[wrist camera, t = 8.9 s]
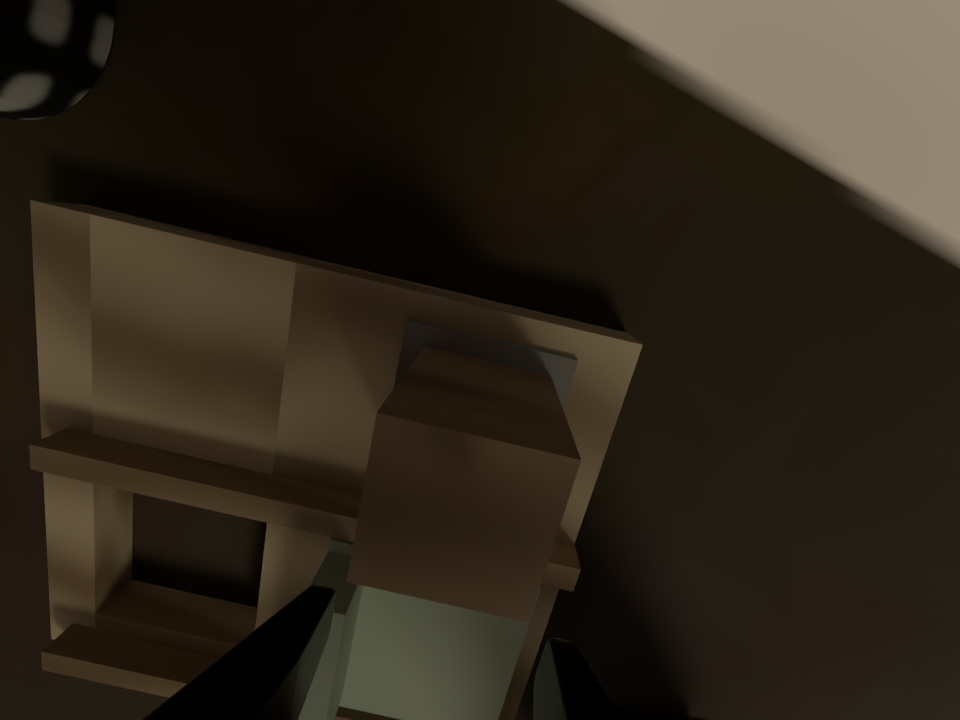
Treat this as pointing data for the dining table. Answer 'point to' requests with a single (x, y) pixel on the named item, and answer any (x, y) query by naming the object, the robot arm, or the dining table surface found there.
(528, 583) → the walnut block
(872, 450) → the dining table surface
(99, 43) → the spotted tube
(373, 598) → the lid
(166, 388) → the puzzle board
